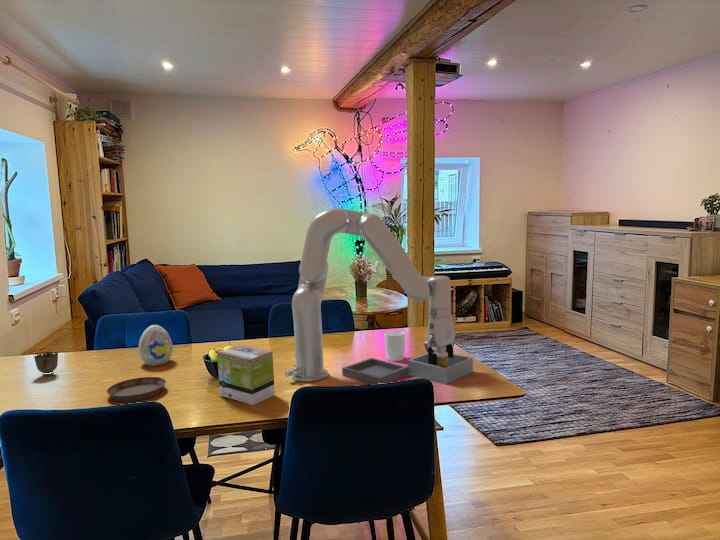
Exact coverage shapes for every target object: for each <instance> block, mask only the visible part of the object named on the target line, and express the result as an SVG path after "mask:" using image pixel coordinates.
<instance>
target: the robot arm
mask: <svg viewBox="0 0 720 540" xmlns="http://www.w3.org/2000/svg"><path fill="white" fill-rule="evenodd" d="M305 234H306V235H305V241H304V246H303V249H302V254H301V258H300V259H301V260H300V264H299V267H298V273H299V280H298V285H297V286H298V287H297V289H296V291H295V292H294V294H293V296H292V300H291V309H292V317H293V331H294V332H293V333H294V351H295V355H294V356H295V364H293V365H292V366H293V368H291V369H288V370H285V371H284V376H285V377H286V378H287V377H291V378H292V379H293V380H295V381H298V382H304V383H305V382H306V383H307V382H308V383H309V382H311V383H312V382H316V381H321V380H324V379H326V378H327V377H328V376H329V371H328V370H327V368H324V348H323V346H324V345H323V327H322V325H323V324H322V322H323V321H322V312H321V311H322V307H321V306H322V305H321V304H322V301H323V299H324V295H325V294H324V293H325V290H326V289H325V287H326V283H327V278H328V277H327V276H328V271H329V263H328V256H329V251H330V245H331V240H332V239H333V237H334V236H336V235H337V234H338V235H339V234H346V235H352V236H358V237H362V238H363V240H364V241H365V242H366V243H367V245H368V246H369V247H370V248H371V250H372V251H373V252H374V253H375V255H376V256H377V257H378V259H379V260H380V261H381V263H382V265H384V267H385V268H386V269H387V270H388V272H390V274H391V275H392V276H393V278H394V279H395V280H396V282H397V283H398V284H399V285H400V287H401V288H402V289H403V291H404V292H405V294H406V295H407V296H408V298H409V299H410V300H412V301H414V302H417V303H421V302H424V301H425V300H427V299H428V324H427V338H426V339H425V340H424V342H423V345H424V348H425V350H426V353H428V363H429V364H432V365H437V353H436V350H437V348H438V347H444V346H446V352H447V353H448V357H449V358H453V354H454V347H455V342H456V335H457V332H456V331H455V323H454V319H453V315H452V291H451V290H452V286H451V284H452V283H451V278H450V277H449V276H446V275H434V276H423V275H422V274H421V273H420V271H419V270H418V269H417V268H416V266H415V264H414V263H413V262H412V260H411V259H410V258H409V256H408V253H406V251H405V249H404V247H403V246H402V245H401V244H400V242H399V240H397V238H396V237H395V235H394V234H393V233H392V232H391V231H390V229H389V228H388V226H387V225H386V223H385V222H384V221H383V220H382V219H381V217H380V216H379V215H377V214H375V213H368V212H362V211H357V210H351V209H346V208H340V207H334V208H331V209H330V208H329V209H327V210H325V211H322V212H320V213H319V214H317V215H315V217H314V218H313V219H312V220H311V222H310V224H309V226H308V228H307V231H306V233H305Z"/></svg>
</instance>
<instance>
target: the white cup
mask: <svg viewBox="0 0 720 540" xmlns="http://www.w3.org/2000/svg"><path fill="white" fill-rule="evenodd" d="M383 334H384V335H383V336H384V348H385V358H386V360H387V361H389V362H390V361H391V362H398V361H403V360H404V358H405V348H406V347H405V346H406V345H405V344H406V333H405V332H404V331H402V330H388V331H385V332H384V333H383Z"/></svg>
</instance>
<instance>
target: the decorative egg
mask: <svg viewBox="0 0 720 540" xmlns="http://www.w3.org/2000/svg"><path fill="white" fill-rule="evenodd" d="M138 341H139V343H138V355H139V357H140V360H141V361H142V362H143V364H145V366H149V367H154V366H161V365H164V364H167V363H168V362H169V361H170V360H171V357H172V356H173V349H174V348H173V342H172V339H171V336H170V335H169V333H168V331H167V330H166V329H165V328H163V326H160V325H158V324H152V325H150V326H148V327H147V328H146V329H145V330H143V333H142V334H141V336H140V339H139V340H138Z"/></svg>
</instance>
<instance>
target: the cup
mask: <svg viewBox="0 0 720 540" xmlns="http://www.w3.org/2000/svg"><path fill="white" fill-rule="evenodd" d="M33 358H34V362H35V366H36V369H37V370H38V371H39V372H40V373H41V374H42V373H50V372H53V371H54V372H53V373H51V374H42V376H43V377H51V376H53V375H54V374H55V370H56V369H57V367H58V364H59V363H58V362H59V361H58V360H59V352H58V351H55V352H54V353H53V351H51V352H50V351H47V352H46V353H45V352H43V353H42V354H41V353H38V354H36V355H34V356H33Z"/></svg>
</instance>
